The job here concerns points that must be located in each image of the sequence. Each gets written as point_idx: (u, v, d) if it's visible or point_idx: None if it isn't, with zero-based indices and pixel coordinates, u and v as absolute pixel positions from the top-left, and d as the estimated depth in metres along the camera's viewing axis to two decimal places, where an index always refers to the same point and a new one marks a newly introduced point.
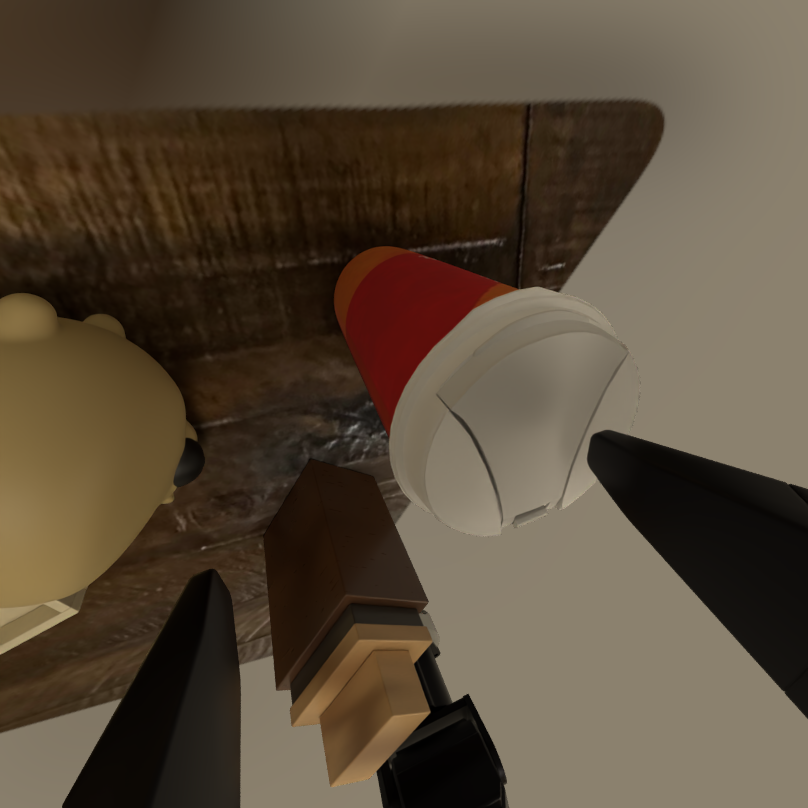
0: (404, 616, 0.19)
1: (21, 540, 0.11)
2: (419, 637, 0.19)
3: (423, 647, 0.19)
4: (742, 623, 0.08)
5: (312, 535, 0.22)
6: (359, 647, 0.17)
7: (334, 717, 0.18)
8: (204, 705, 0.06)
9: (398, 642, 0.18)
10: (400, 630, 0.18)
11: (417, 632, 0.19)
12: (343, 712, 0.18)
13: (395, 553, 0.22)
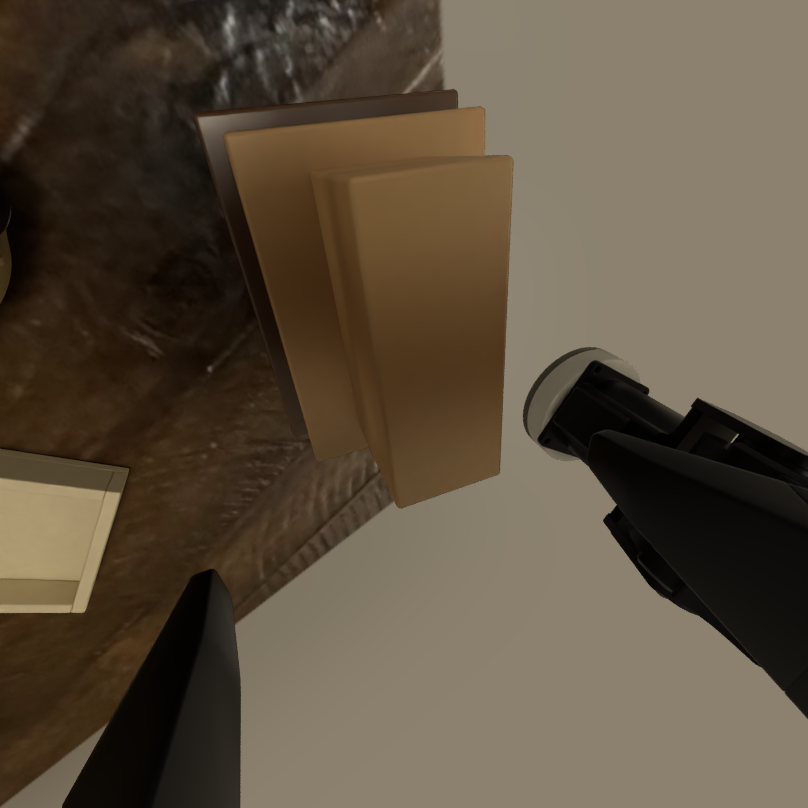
0: None
1: None
2: (438, 111, 0.07)
3: (469, 139, 0.07)
4: (742, 623, 0.08)
5: None
6: (252, 168, 0.06)
7: (358, 396, 0.08)
8: (204, 705, 0.06)
9: (368, 127, 0.06)
10: None
11: None
12: (353, 366, 0.07)
13: None
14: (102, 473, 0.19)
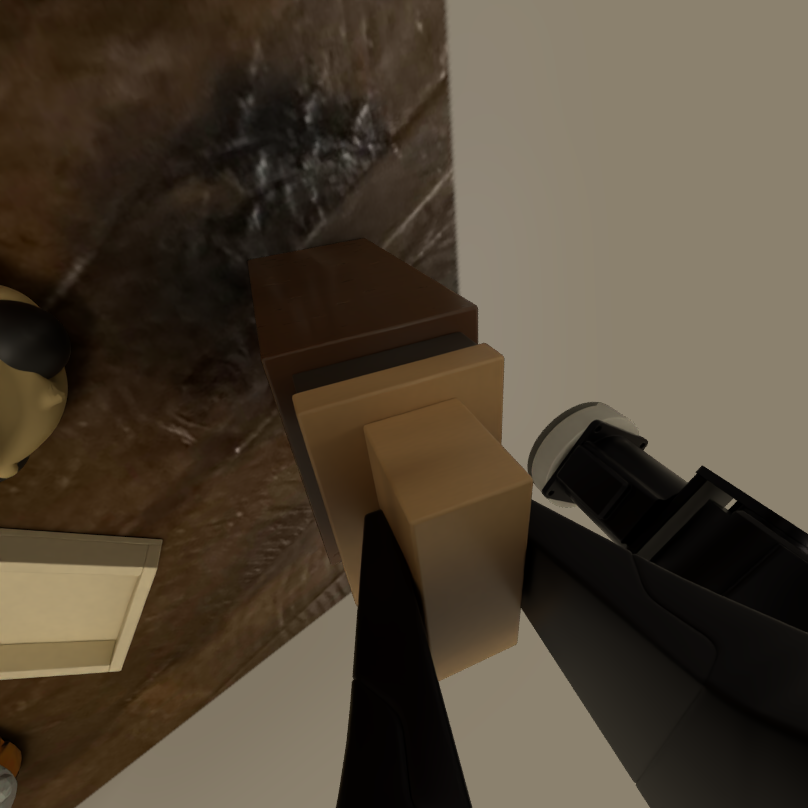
0: (428, 349, 0.09)
1: None
2: (465, 362, 0.08)
3: (491, 379, 0.08)
4: (594, 703, 0.07)
5: None
6: (318, 430, 0.07)
7: None
8: None
9: (410, 388, 0.08)
10: (414, 368, 0.08)
11: (459, 357, 0.08)
12: None
13: (397, 282, 0.11)
14: (139, 548, 0.20)
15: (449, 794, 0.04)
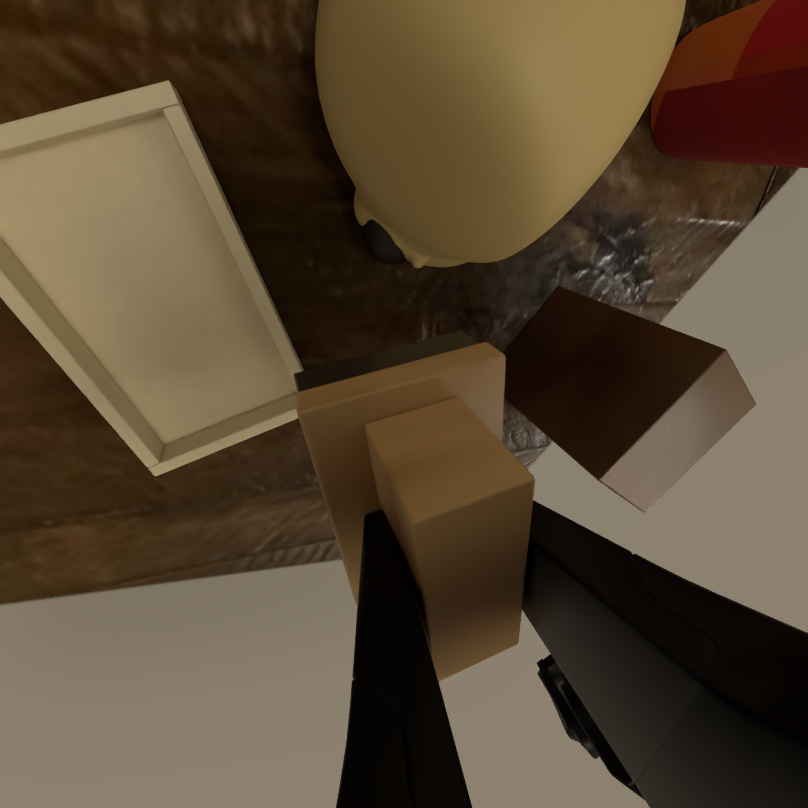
0: (429, 348, 0.09)
1: (651, 40, 0.09)
2: (467, 361, 0.08)
3: (492, 378, 0.08)
4: (594, 703, 0.07)
5: (606, 335, 0.20)
6: (319, 429, 0.07)
7: None
8: None
9: (411, 387, 0.08)
10: (415, 367, 0.08)
11: (460, 356, 0.08)
12: None
13: None
14: None
15: (449, 794, 0.04)
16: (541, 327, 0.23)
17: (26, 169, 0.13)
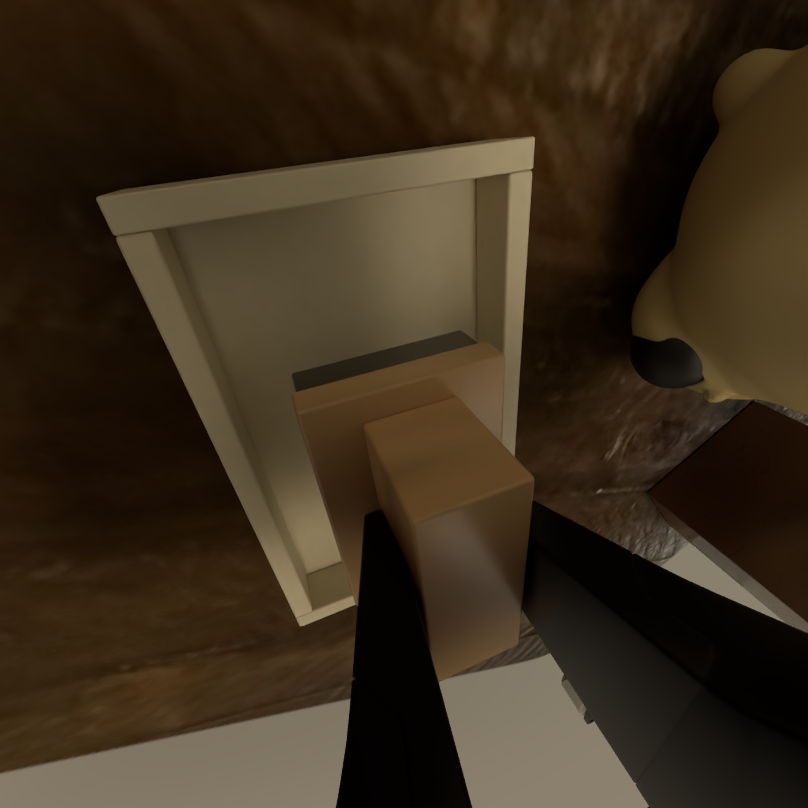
0: (428, 347, 0.09)
1: None
2: (466, 360, 0.08)
3: (491, 377, 0.08)
4: (594, 703, 0.07)
5: None
6: (317, 429, 0.07)
7: None
8: None
9: (410, 387, 0.08)
10: (414, 366, 0.08)
11: (460, 355, 0.08)
12: None
13: None
14: None
15: (449, 794, 0.04)
16: (736, 448, 0.20)
17: (271, 226, 0.09)
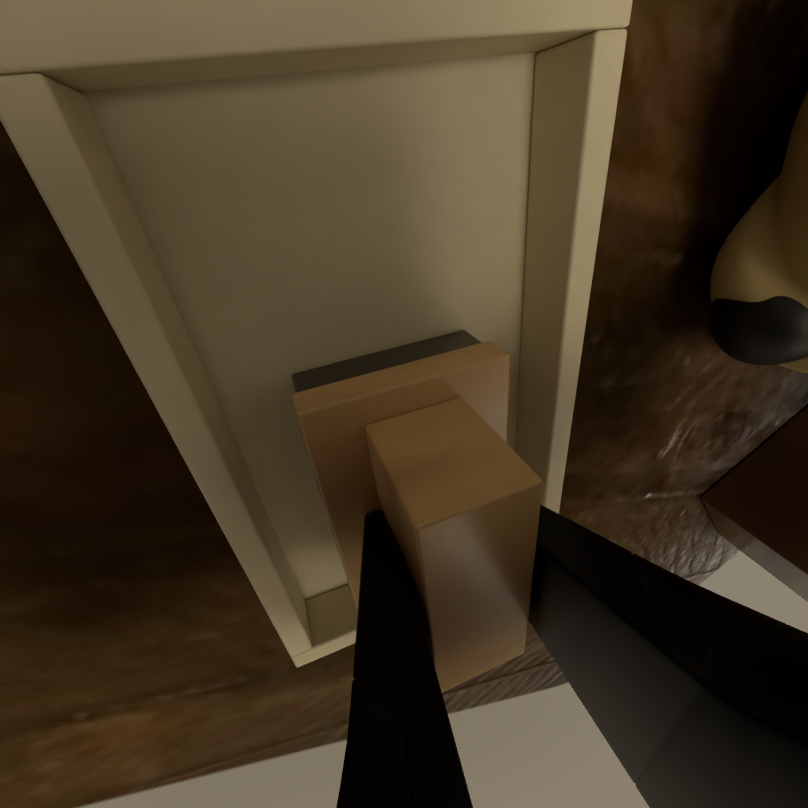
0: (431, 347, 0.09)
1: None
2: (470, 360, 0.08)
3: (496, 377, 0.08)
4: (594, 704, 0.07)
5: None
6: (318, 431, 0.07)
7: None
8: None
9: (413, 387, 0.07)
10: (417, 366, 0.08)
11: (464, 355, 0.08)
12: None
13: None
14: None
15: (450, 794, 0.04)
16: None
17: (249, 114, 0.06)
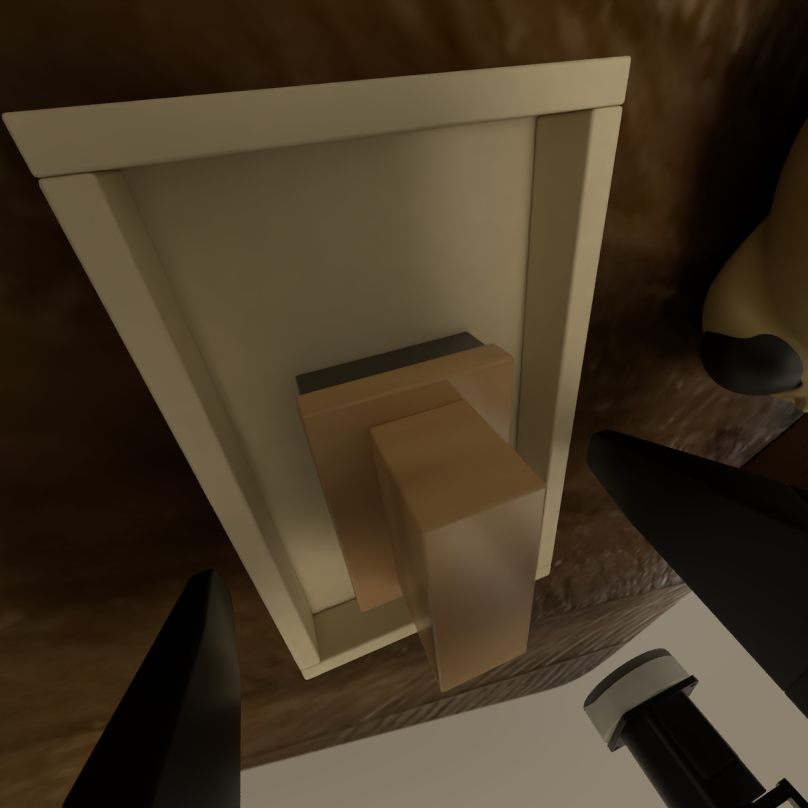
0: (435, 349, 0.09)
1: None
2: (474, 362, 0.08)
3: (500, 380, 0.08)
4: (742, 623, 0.08)
5: None
6: (322, 433, 0.07)
7: (401, 577, 0.09)
8: (204, 705, 0.06)
9: (417, 390, 0.07)
10: (420, 369, 0.08)
11: (467, 357, 0.08)
12: (400, 563, 0.08)
13: None
14: None
15: None
16: (797, 460, 0.17)
17: (270, 182, 0.07)
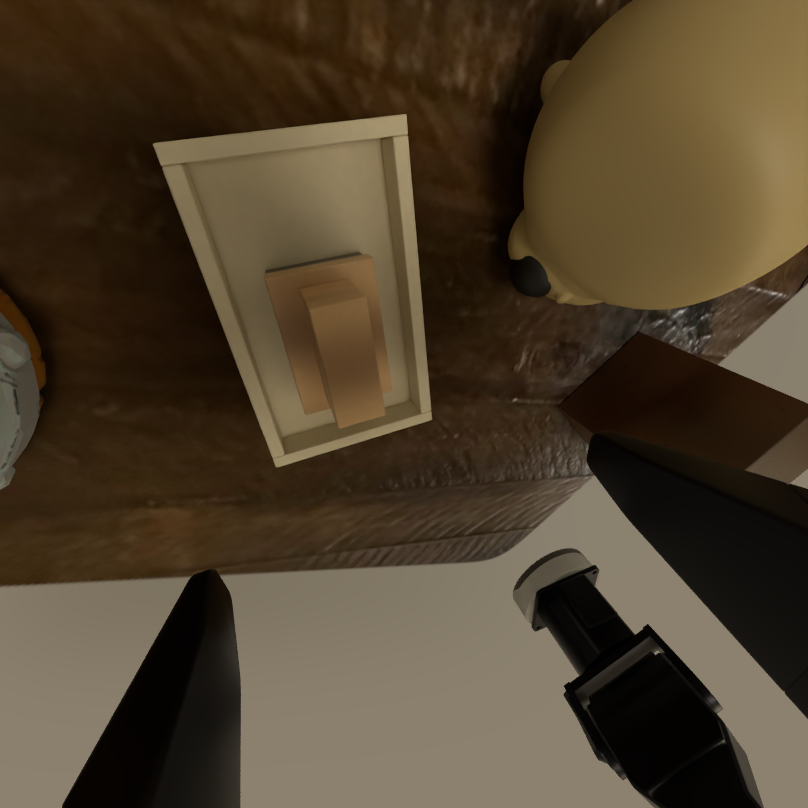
0: (338, 258, 0.16)
1: None
2: (352, 260, 0.16)
3: (367, 270, 0.16)
4: (742, 623, 0.08)
5: (694, 382, 0.22)
6: (275, 289, 0.15)
7: (323, 381, 0.17)
8: (204, 705, 0.06)
9: (322, 270, 0.15)
10: (326, 263, 0.16)
11: (350, 258, 0.16)
12: (319, 367, 0.16)
13: None
14: None
15: None
16: (622, 366, 0.25)
17: (250, 169, 0.14)
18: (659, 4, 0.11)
